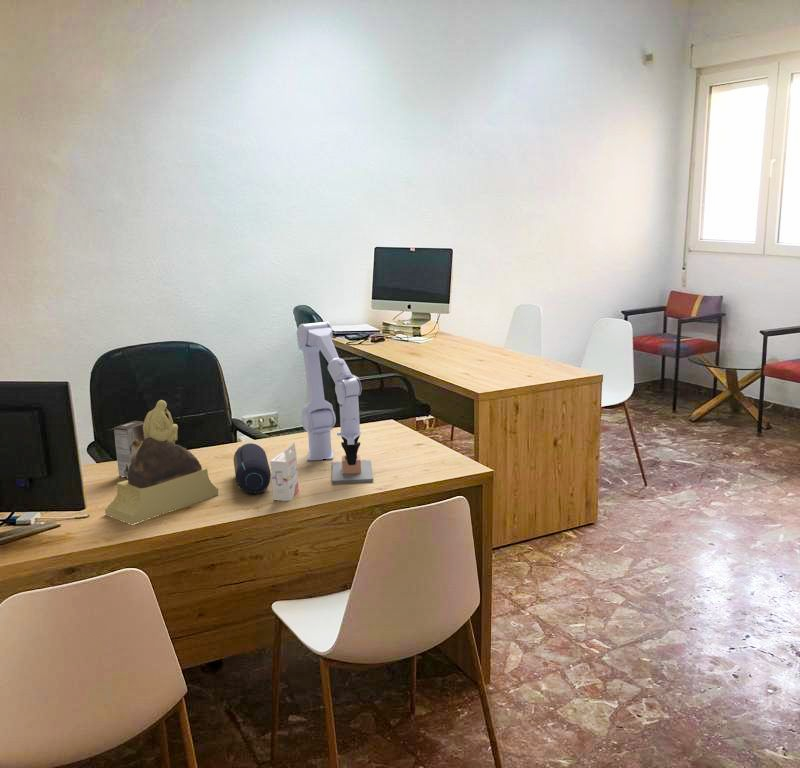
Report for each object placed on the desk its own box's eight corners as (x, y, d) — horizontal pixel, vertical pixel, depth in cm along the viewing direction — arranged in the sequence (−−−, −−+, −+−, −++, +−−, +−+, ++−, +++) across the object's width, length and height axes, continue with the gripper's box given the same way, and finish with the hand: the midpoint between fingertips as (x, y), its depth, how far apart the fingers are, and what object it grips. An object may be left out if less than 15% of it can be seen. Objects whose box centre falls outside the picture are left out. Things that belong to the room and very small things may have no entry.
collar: (342, 467, 255) (341, 455, 254) (360, 466, 255) (360, 454, 254) (342, 473, 249) (341, 461, 248) (361, 472, 250) (360, 459, 249)
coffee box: (140, 468, 264) (135, 419, 261) (155, 471, 261) (150, 421, 258) (118, 477, 257) (112, 427, 253) (133, 479, 253) (127, 429, 250)
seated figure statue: (191, 486, 246) (182, 387, 239) (218, 495, 238) (210, 393, 231) (105, 515, 225) (93, 408, 218) (132, 525, 217) (120, 414, 210)
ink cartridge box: (282, 490, 239) (279, 441, 236) (299, 491, 238) (296, 442, 235) (272, 501, 231) (268, 450, 228) (289, 501, 230) (286, 450, 227)
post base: (332, 465, 261) (331, 448, 260) (370, 463, 262) (370, 446, 260) (332, 484, 243) (331, 466, 242) (373, 481, 244) (372, 464, 243)
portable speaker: (234, 472, 258) (231, 441, 255) (266, 469, 260) (264, 438, 258) (237, 499, 234) (234, 465, 231) (273, 495, 236) (270, 462, 234)
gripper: (336, 412, 255) (338, 454, 258) (336, 424, 241) (338, 469, 244) (359, 411, 256) (361, 453, 259) (360, 423, 242) (362, 467, 245)
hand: (351, 461), depth 252 cm, fingers open, 6 cm apart
